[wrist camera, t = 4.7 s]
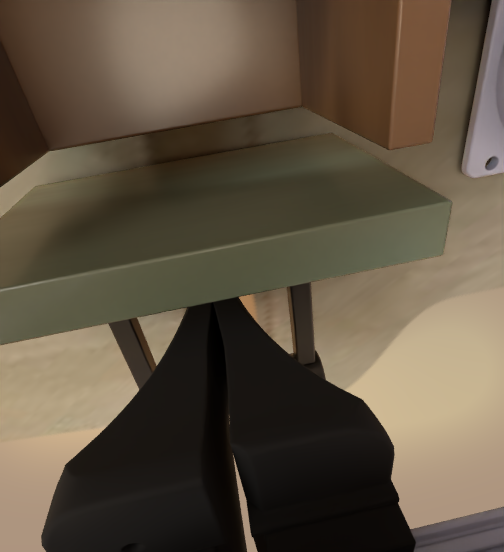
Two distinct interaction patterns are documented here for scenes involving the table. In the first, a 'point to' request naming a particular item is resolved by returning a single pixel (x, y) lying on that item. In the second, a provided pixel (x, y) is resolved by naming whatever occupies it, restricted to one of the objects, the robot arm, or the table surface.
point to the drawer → (210, 156)
